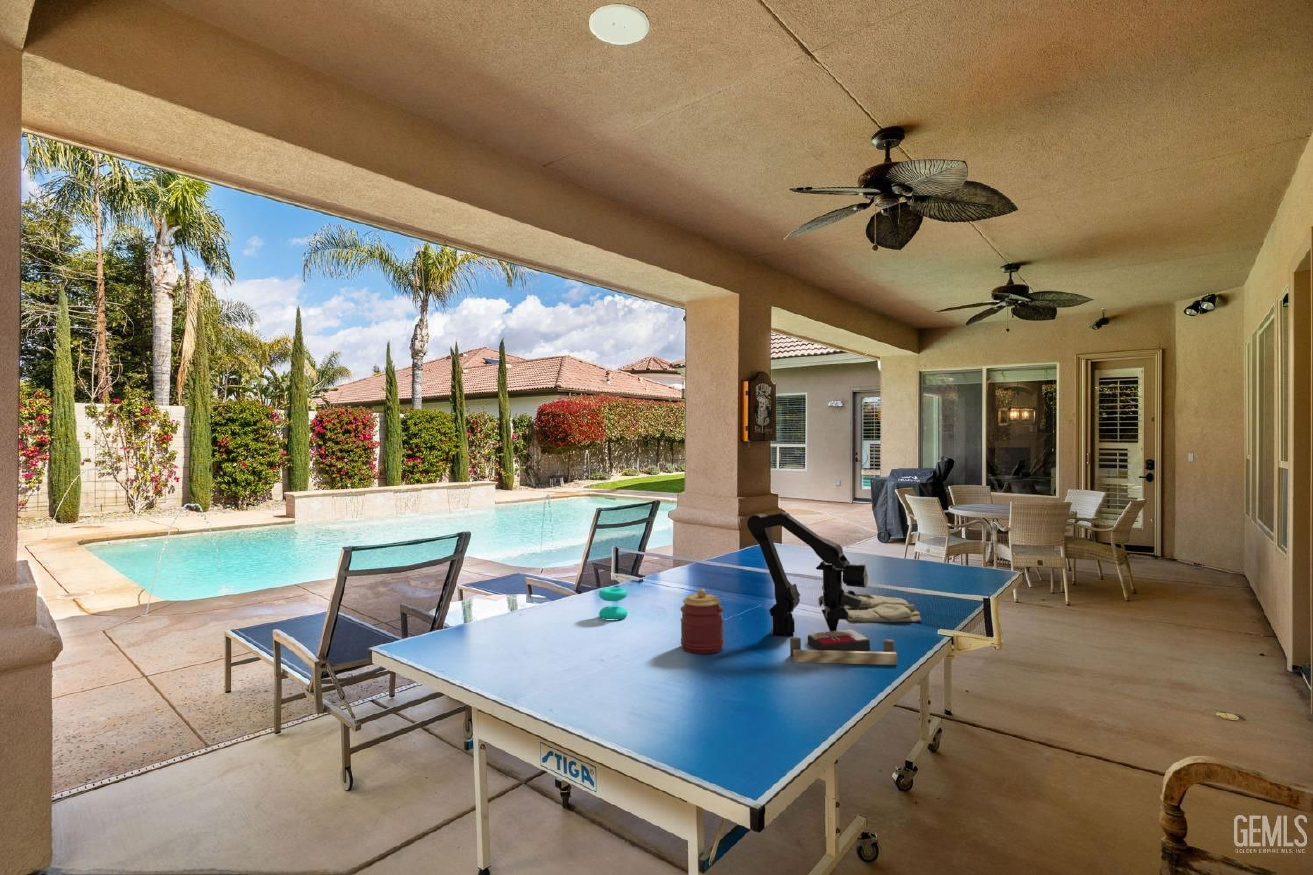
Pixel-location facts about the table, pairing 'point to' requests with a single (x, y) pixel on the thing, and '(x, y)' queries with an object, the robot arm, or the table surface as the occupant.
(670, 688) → the table surface
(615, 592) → the donuts
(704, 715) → the table surface
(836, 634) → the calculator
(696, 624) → the canister
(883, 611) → the pair of gloves
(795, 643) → the seat bracket
